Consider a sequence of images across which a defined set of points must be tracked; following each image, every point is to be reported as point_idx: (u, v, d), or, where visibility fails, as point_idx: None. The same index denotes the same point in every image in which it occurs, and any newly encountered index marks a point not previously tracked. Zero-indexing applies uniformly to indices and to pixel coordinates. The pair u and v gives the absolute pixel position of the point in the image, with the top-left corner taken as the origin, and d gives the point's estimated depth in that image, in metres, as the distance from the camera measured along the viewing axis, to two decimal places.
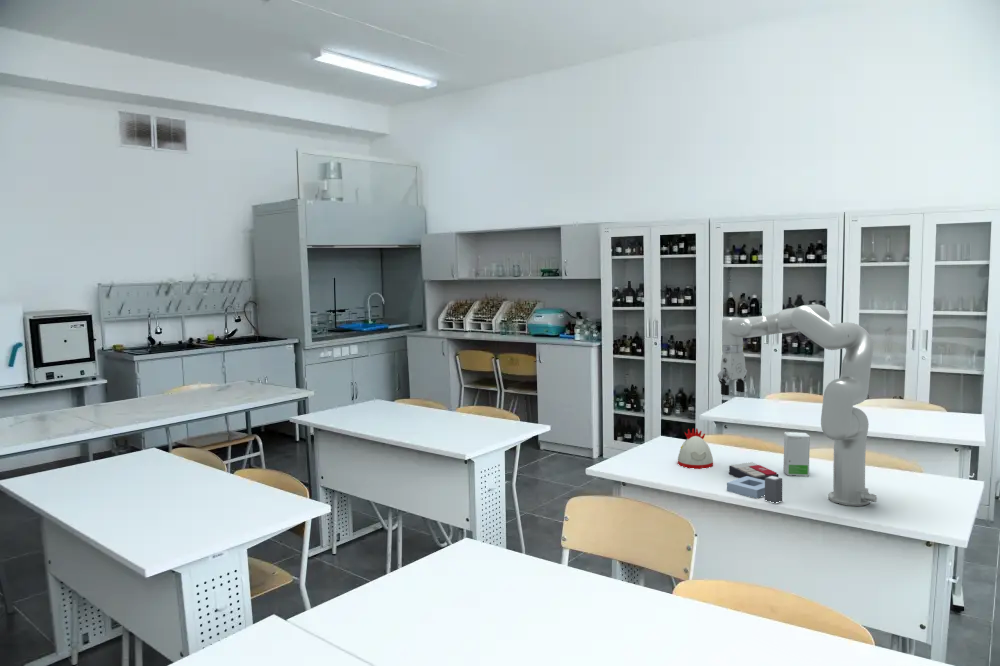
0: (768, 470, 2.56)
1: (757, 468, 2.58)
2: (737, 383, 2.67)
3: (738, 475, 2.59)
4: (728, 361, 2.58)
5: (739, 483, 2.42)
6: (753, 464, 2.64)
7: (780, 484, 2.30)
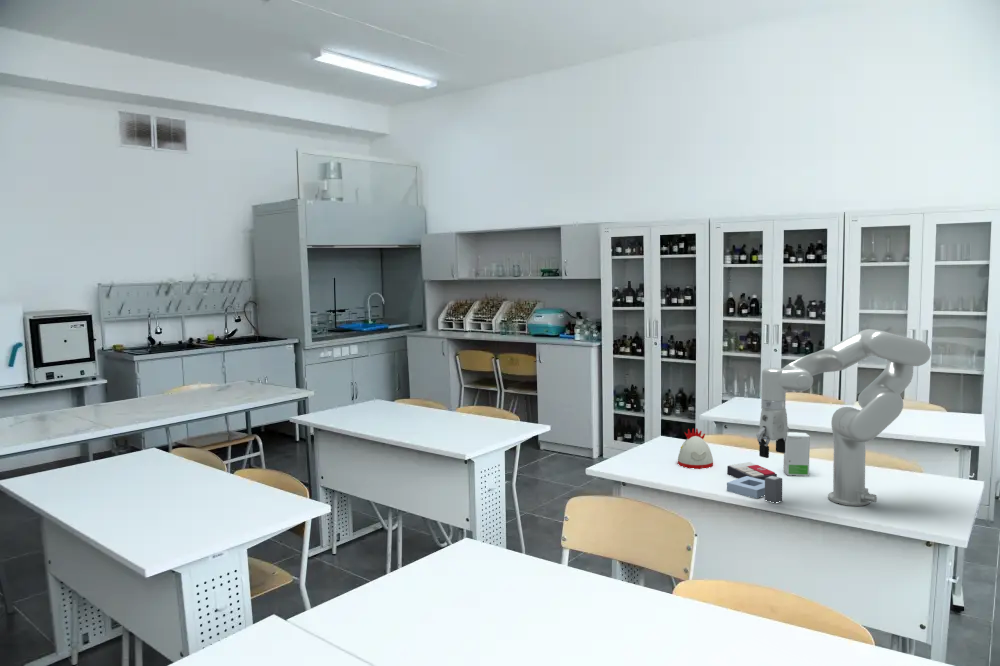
0: (766, 470, 2.56)
1: (755, 468, 2.59)
2: (777, 442, 2.33)
3: (736, 475, 2.59)
4: (769, 419, 2.25)
5: (739, 483, 2.42)
6: (751, 464, 2.64)
7: (780, 484, 2.30)
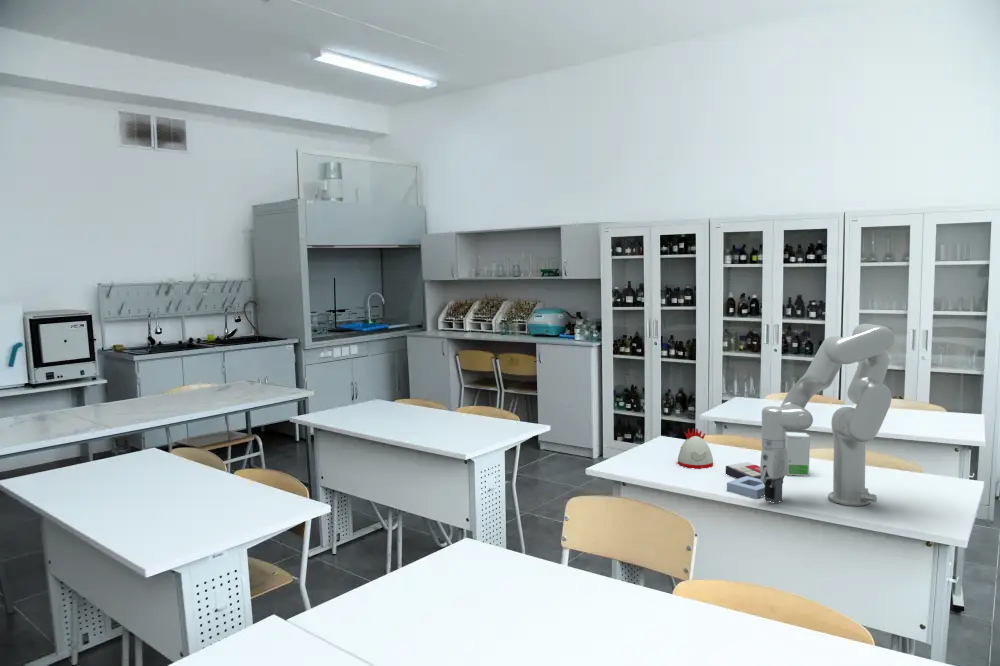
0: None
1: (754, 468, 2.59)
2: None
3: (735, 475, 2.59)
4: (769, 458, 2.26)
5: (739, 483, 2.42)
6: (749, 464, 2.64)
7: (780, 484, 2.30)
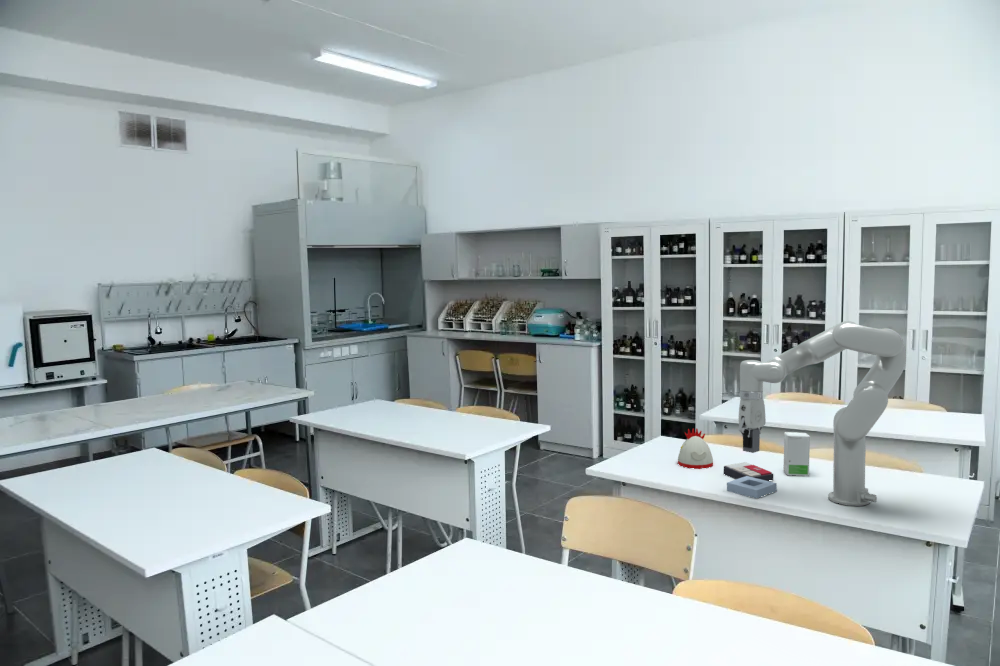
0: (763, 470, 2.57)
1: (752, 468, 2.59)
2: None
3: (733, 475, 2.59)
4: (747, 409, 2.36)
5: (739, 483, 2.42)
6: (747, 464, 2.64)
7: (757, 434, 2.40)
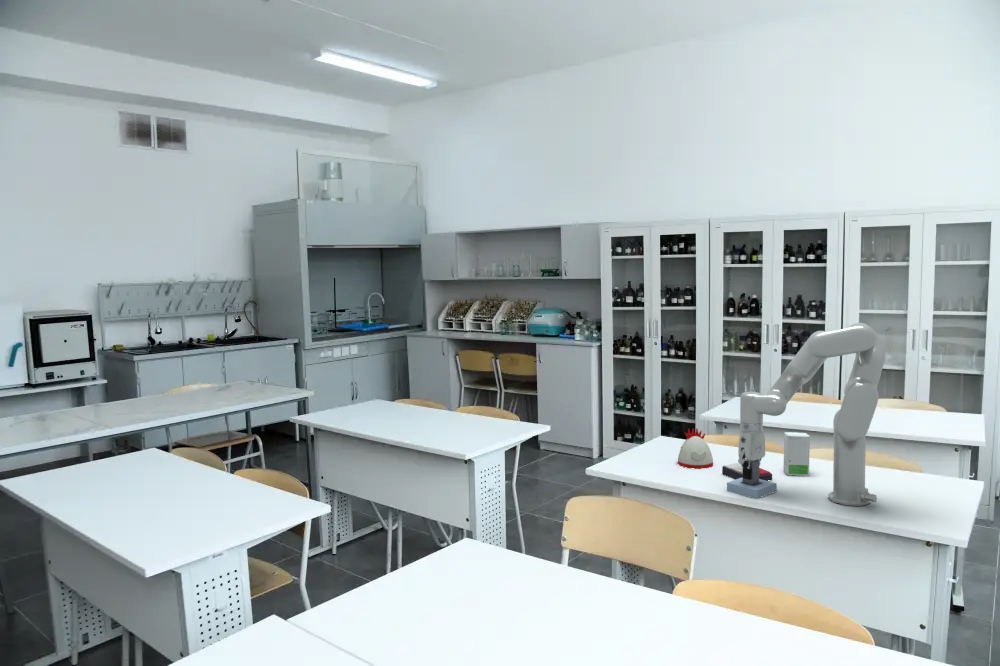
0: (761, 470, 2.57)
1: None
2: None
3: (732, 475, 2.58)
4: (747, 441, 2.37)
5: (739, 483, 2.42)
6: None
7: (757, 466, 2.41)
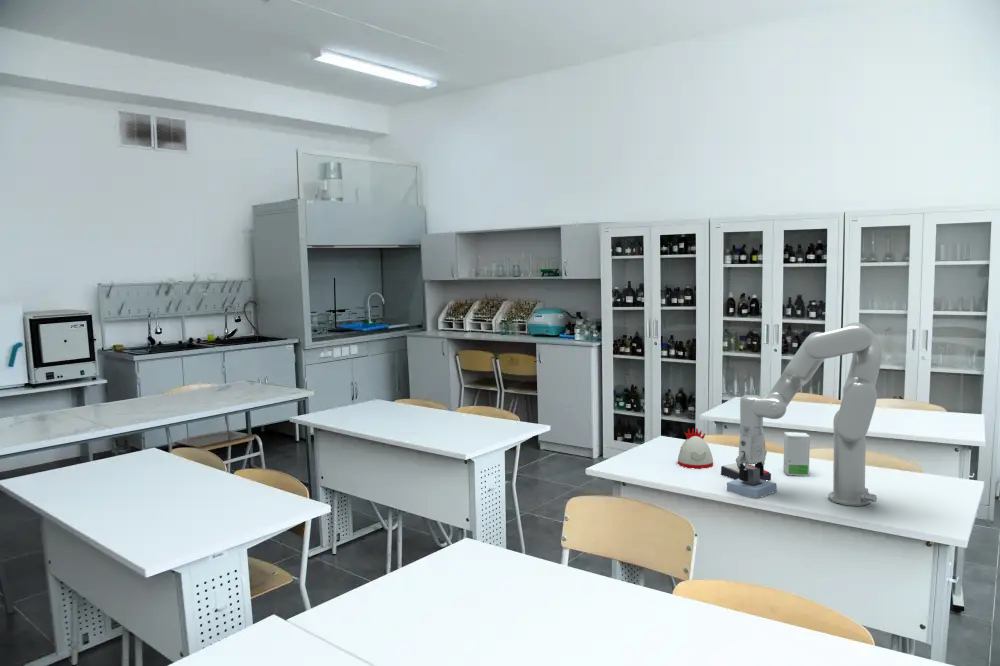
0: None
1: None
2: (756, 466, 2.45)
3: (731, 475, 2.58)
4: (747, 444, 2.37)
5: (739, 483, 2.42)
6: (744, 464, 2.64)
7: (757, 474, 2.41)
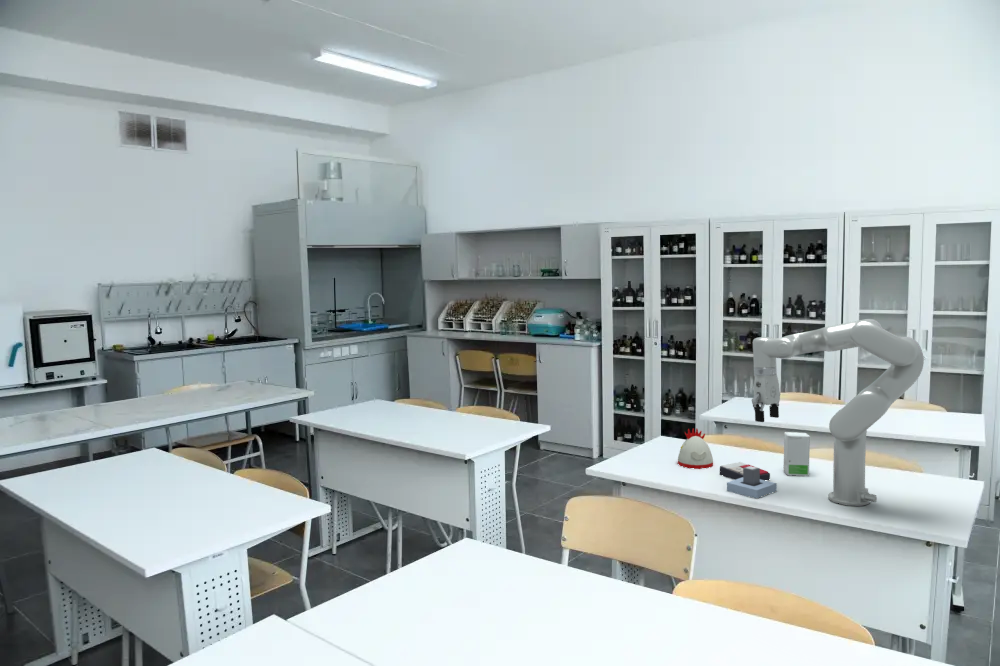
0: None
1: None
2: (771, 408, 2.47)
3: (730, 475, 2.58)
4: (762, 385, 2.39)
5: (739, 483, 2.42)
6: (742, 464, 2.65)
7: (757, 474, 2.41)
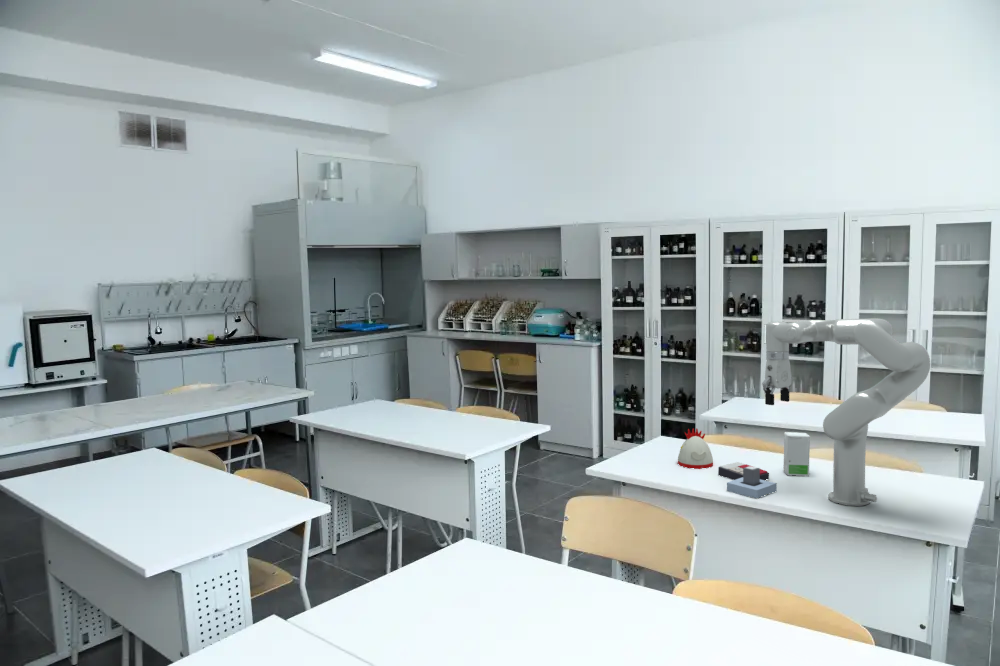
0: None
1: None
2: (782, 392, 2.50)
3: (729, 476, 2.58)
4: (773, 369, 2.41)
5: (739, 483, 2.42)
6: (740, 464, 2.65)
7: (757, 474, 2.41)
